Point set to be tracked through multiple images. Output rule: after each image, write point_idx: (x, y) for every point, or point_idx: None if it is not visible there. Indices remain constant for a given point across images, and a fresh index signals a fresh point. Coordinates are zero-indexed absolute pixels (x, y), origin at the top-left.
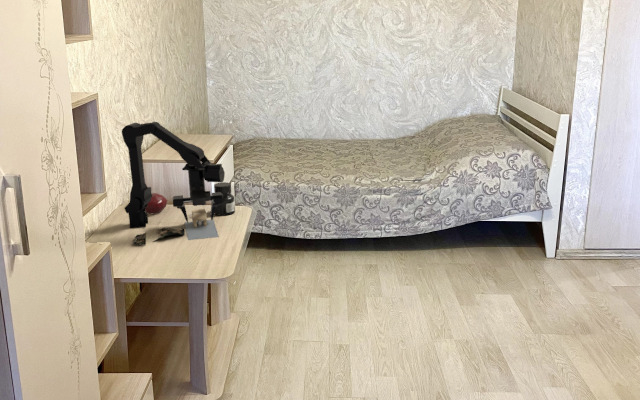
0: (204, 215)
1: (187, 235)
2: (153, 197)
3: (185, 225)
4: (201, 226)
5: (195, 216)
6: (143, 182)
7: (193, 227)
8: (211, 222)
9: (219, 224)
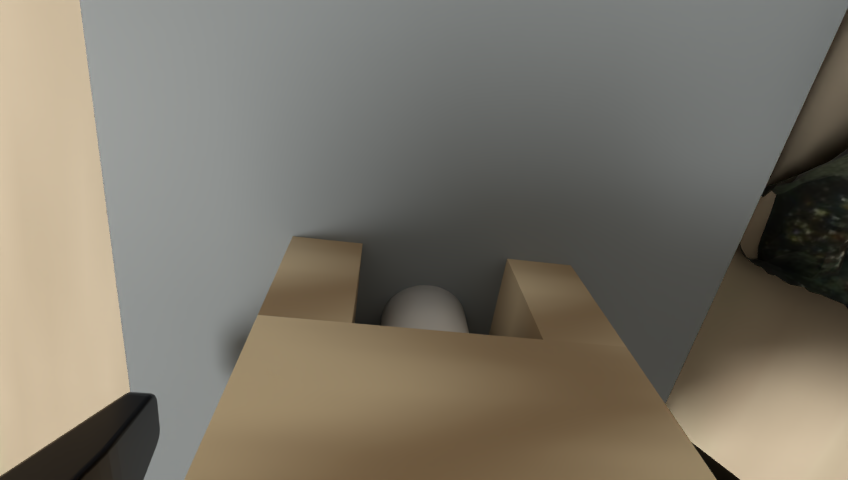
0: (287, 423)
1: None
2: None
3: (664, 399)
4: (417, 241)
5: (612, 439)
6: None
7: (585, 243)
8: (186, 387)
9: (74, 373)
